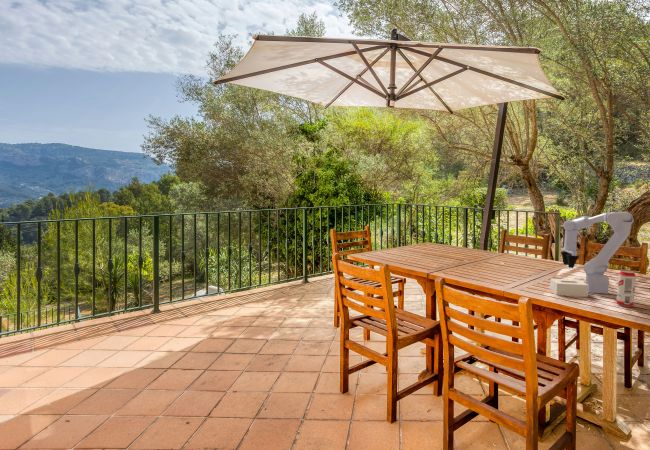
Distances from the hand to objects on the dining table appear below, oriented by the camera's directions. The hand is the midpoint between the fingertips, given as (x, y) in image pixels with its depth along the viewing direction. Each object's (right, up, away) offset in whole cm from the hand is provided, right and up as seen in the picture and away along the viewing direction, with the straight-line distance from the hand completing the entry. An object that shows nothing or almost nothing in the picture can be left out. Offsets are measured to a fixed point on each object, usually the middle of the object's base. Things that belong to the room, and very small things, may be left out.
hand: (568, 266), depth 215 cm
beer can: (+3, -15, -36) cm, 39 cm away
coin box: (-10, -12, -16) cm, 23 cm away
